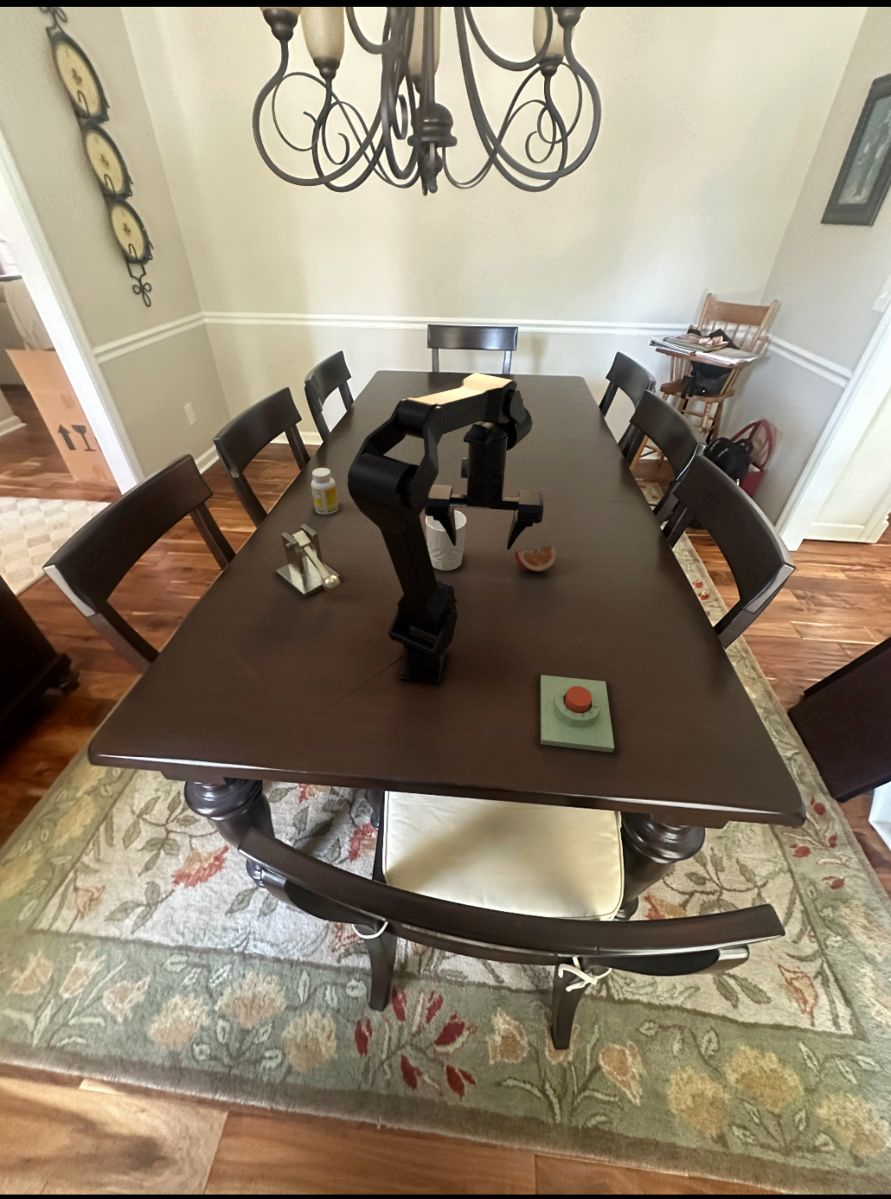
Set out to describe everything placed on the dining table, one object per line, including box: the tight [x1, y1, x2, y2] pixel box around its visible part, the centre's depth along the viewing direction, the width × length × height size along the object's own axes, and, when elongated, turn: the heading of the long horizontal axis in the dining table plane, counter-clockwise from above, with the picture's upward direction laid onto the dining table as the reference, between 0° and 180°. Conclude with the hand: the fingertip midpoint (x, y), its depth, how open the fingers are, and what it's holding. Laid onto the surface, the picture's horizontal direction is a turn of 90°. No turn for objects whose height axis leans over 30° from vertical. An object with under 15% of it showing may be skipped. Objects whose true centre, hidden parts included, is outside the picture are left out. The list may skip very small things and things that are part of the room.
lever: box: [291, 530, 342, 594], centre depth 95 cm, size 13×3×3 cm
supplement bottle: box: [310, 467, 339, 516], centre depth 117 cm, size 5×5×10 cm
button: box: [565, 686, 592, 713], centre depth 75 cm, size 4×4×2 cm
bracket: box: [276, 523, 341, 598], centre depth 98 cm, size 10×8×10 cm
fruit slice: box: [514, 544, 558, 573], centre depth 102 cm, size 8×7×5 cm
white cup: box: [425, 509, 467, 572], centre depth 102 cm, size 8×8×10 cm
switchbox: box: [539, 674, 615, 753], centre depth 76 cm, size 12×10×3 cm
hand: (481, 546), depth 89 cm, fingers open, 9 cm apart
